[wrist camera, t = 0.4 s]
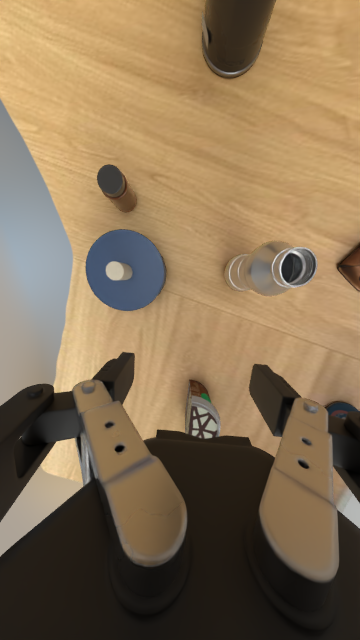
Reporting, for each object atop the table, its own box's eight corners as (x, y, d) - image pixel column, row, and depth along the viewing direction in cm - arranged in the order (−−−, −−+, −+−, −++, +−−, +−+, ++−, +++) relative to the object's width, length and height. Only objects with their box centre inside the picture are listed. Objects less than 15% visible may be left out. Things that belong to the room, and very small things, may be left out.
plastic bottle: (221, 291, 38) (261, 304, 19) (222, 256, 37) (266, 230, 17) (253, 289, 38) (328, 302, 18) (255, 254, 36) (338, 227, 17)
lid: (88, 227, 30) (67, 215, 25) (167, 235, 30) (164, 225, 25) (89, 305, 33) (70, 311, 28) (161, 313, 33) (157, 320, 28)
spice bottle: (114, 186, 34) (95, 161, 27) (137, 188, 34) (124, 164, 27) (113, 211, 35) (95, 193, 28) (136, 213, 35) (123, 196, 28)
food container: (210, 422, 45) (217, 462, 35) (184, 420, 45) (184, 459, 35) (217, 376, 42) (227, 406, 32) (190, 373, 42) (192, 402, 32)
